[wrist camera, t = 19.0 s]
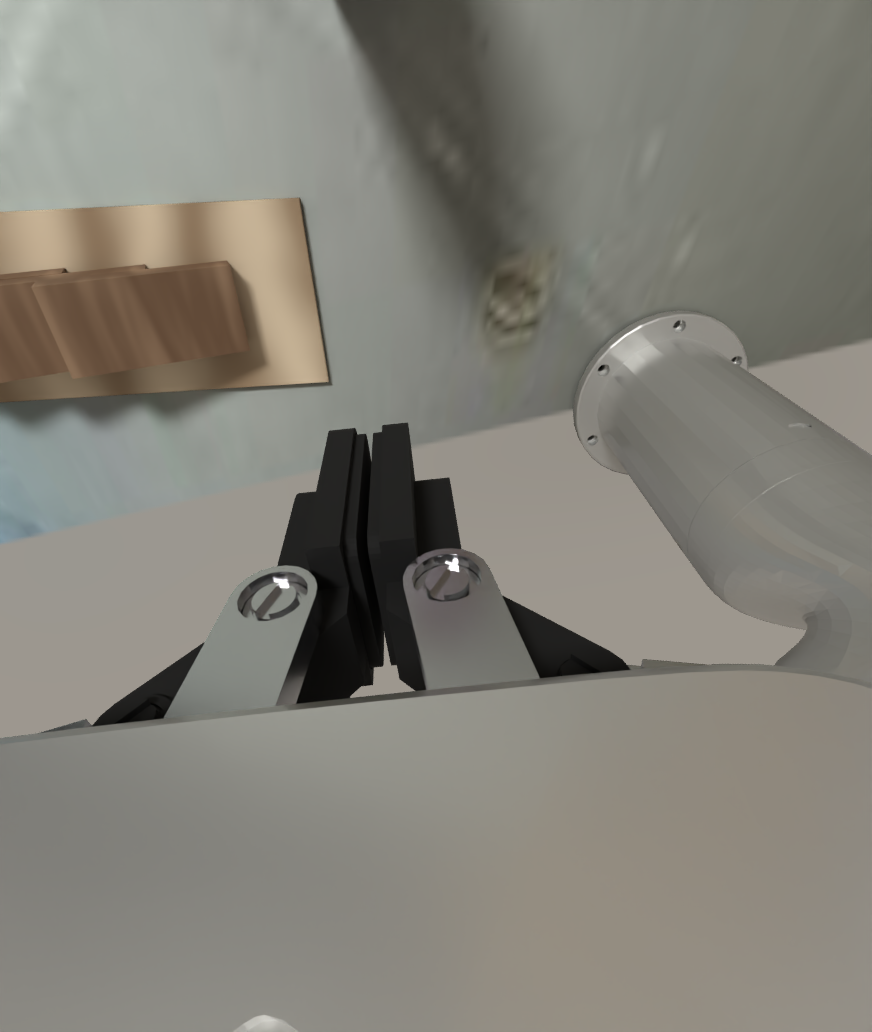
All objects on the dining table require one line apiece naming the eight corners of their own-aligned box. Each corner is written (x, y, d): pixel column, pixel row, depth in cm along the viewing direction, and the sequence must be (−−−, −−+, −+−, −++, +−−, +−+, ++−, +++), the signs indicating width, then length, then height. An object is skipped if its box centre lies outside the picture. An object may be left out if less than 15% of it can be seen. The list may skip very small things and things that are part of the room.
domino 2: (229, 265, 31) (31, 287, 28) (250, 350, 34) (72, 379, 31) (226, 260, 32) (35, 280, 29) (246, 343, 35) (75, 370, 32)
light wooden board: (299, 197, 31) (298, 198, 30) (328, 379, 37) (328, 381, 37) (-170, 220, 30) (-176, 221, 29) (-55, 403, 36) (-60, 405, 36)
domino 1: (145, 269, 31) (-65, 293, 27) (173, 354, 34) (-13, 385, 30) (144, 264, 32) (-56, 286, 29) (172, 347, 35) (-7, 375, 32)
